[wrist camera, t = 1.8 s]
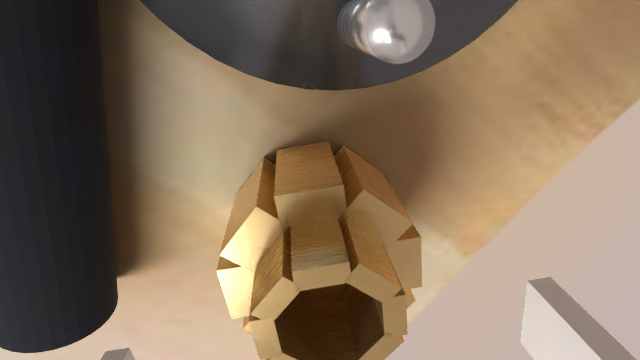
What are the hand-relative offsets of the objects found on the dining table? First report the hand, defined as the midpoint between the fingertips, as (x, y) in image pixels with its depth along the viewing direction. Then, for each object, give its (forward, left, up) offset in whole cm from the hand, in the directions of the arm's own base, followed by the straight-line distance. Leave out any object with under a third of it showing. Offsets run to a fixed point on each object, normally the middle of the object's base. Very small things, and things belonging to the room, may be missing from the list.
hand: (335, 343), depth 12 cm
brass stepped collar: (0, 0, -8) cm, 8 cm away
